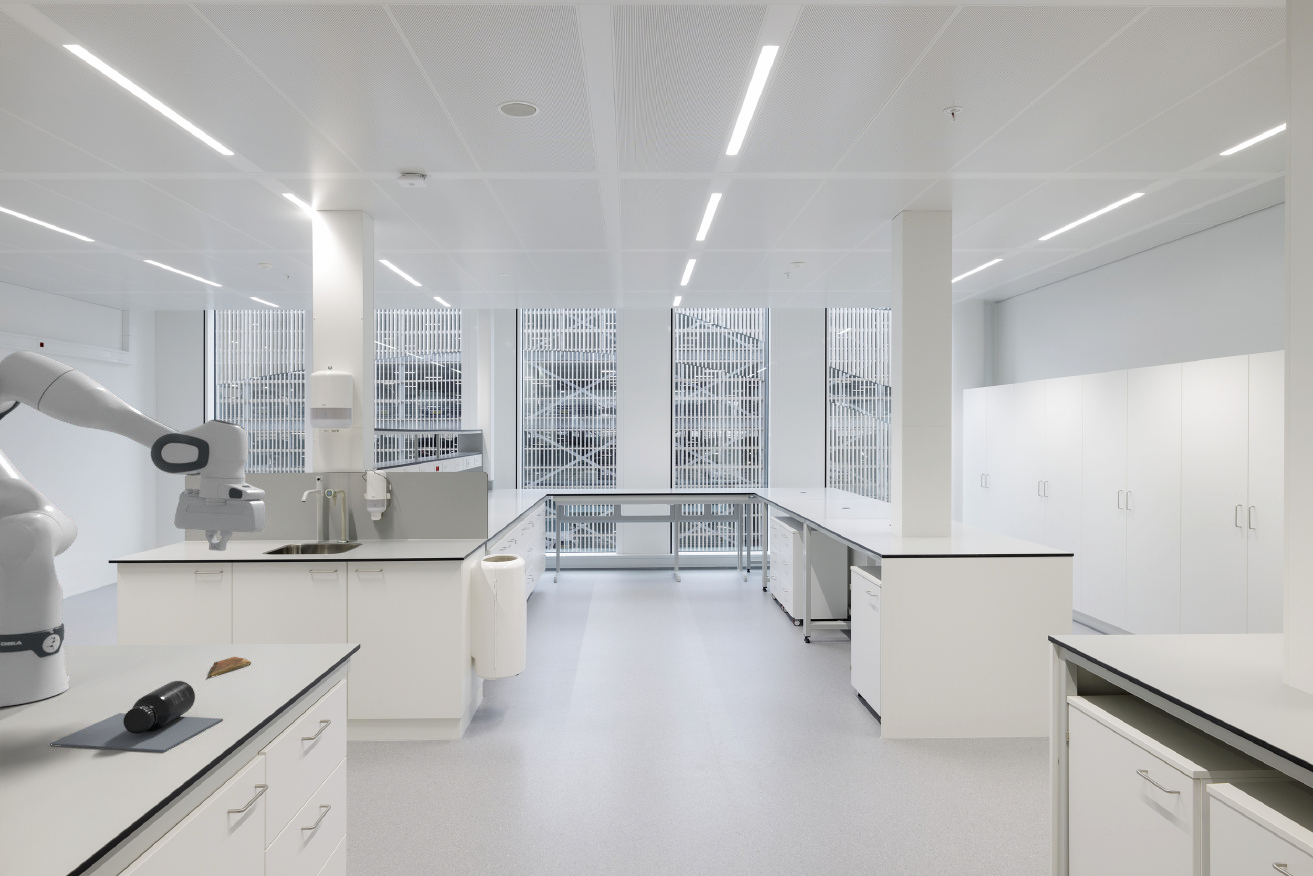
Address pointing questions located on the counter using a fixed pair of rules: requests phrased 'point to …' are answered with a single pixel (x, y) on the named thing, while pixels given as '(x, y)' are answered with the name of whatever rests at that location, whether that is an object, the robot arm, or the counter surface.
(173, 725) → the mat
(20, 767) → the counter surface
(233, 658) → the shard
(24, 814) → the counter surface
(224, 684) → the counter surface
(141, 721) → the supplement bottle
